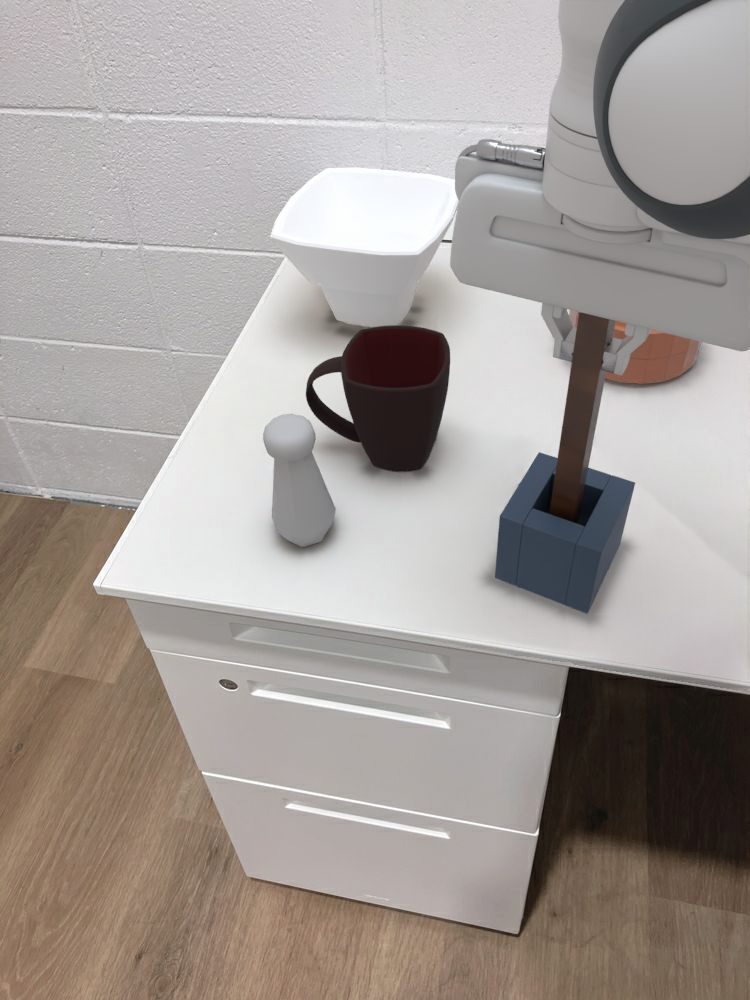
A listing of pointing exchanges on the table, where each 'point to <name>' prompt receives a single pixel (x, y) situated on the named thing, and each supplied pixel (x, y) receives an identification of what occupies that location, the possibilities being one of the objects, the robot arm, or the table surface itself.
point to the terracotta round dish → (653, 356)
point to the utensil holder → (561, 536)
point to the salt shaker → (297, 481)
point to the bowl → (366, 238)
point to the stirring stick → (580, 415)
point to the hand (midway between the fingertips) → (590, 362)
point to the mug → (389, 393)
